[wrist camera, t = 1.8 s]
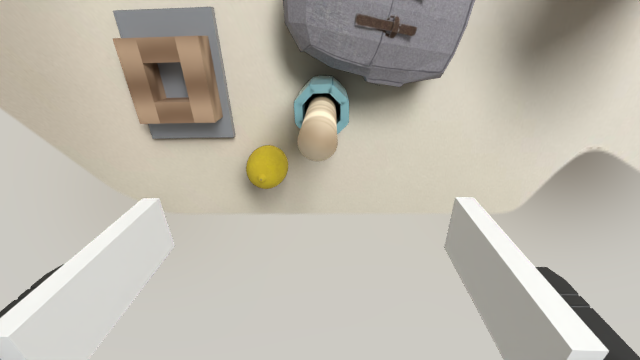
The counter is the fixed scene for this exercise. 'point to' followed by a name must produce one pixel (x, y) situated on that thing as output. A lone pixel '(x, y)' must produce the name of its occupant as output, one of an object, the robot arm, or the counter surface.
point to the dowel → (319, 128)
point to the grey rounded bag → (380, 35)
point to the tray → (180, 24)
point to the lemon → (267, 167)
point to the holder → (147, 81)
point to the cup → (323, 86)
